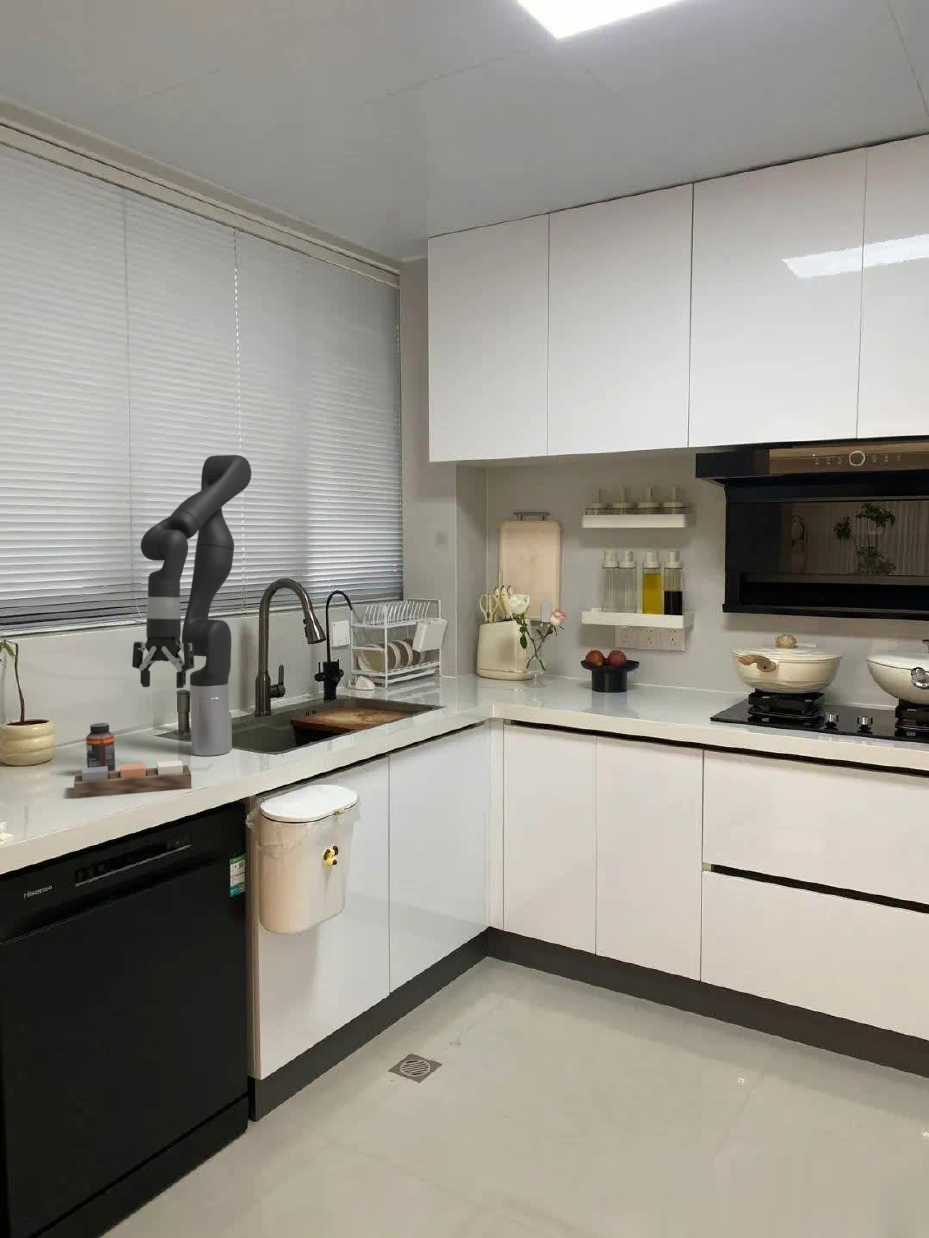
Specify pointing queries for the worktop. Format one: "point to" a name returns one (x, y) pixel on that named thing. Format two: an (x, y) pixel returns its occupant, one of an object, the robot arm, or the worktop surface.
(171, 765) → the cream key
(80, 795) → the key console
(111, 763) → the supplement bottle
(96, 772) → the slate key
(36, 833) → the worktop surface
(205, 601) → the robot arm
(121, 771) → the terracotta key
